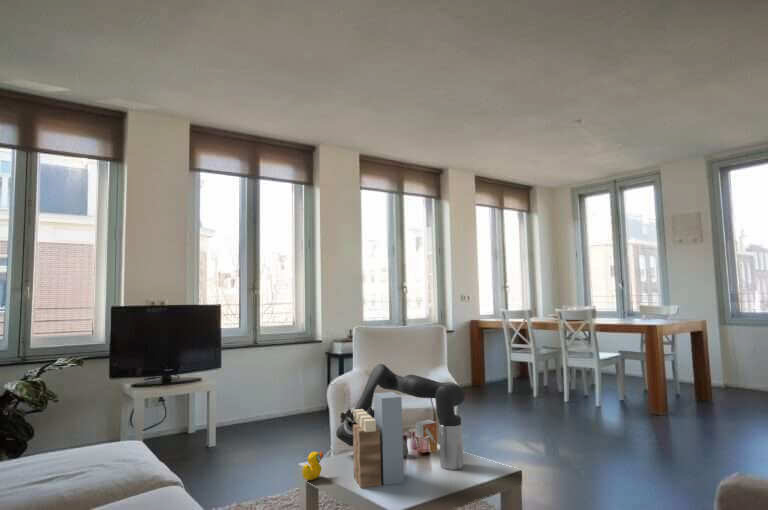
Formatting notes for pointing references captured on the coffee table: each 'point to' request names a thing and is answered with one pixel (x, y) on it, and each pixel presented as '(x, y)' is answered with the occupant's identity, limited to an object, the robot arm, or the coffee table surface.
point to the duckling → (312, 466)
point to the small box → (428, 432)
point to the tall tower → (390, 436)
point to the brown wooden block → (366, 457)
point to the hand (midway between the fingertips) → (360, 410)
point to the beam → (364, 420)
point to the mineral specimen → (405, 448)
